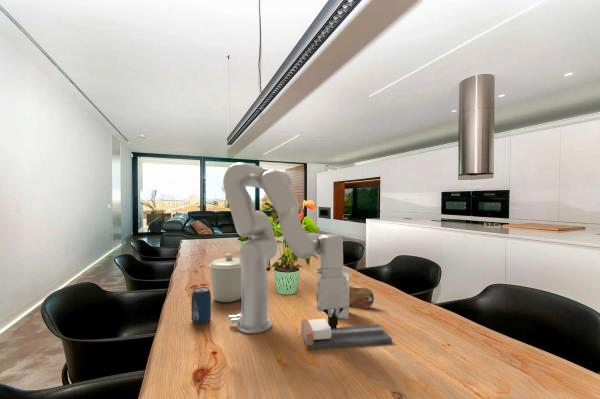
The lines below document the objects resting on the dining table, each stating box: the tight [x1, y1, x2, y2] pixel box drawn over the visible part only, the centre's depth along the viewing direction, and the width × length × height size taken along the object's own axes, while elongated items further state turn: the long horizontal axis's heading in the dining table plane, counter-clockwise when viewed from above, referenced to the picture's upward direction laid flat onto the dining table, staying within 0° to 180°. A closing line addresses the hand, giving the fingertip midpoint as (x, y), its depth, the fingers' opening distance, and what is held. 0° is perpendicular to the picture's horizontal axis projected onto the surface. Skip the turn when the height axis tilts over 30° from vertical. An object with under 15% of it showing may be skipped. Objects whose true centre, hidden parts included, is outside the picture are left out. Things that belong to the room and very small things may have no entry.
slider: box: [307, 318, 331, 340], centre depth 91 cm, size 6×8×4 cm
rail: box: [301, 319, 393, 351], centre depth 93 cm, size 28×10×5 cm, turn 99°
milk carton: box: [331, 267, 350, 320], centre depth 112 cm, size 7×7×19 cm
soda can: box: [191, 286, 212, 325], centre depth 106 cm, size 7×7×12 cm
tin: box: [349, 285, 375, 309], centre depth 122 cm, size 15×3×8 cm, turn 68°
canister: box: [208, 252, 242, 303], centre depth 130 cm, size 18×18×21 cm
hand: (333, 327), depth 92 cm, fingers closed
